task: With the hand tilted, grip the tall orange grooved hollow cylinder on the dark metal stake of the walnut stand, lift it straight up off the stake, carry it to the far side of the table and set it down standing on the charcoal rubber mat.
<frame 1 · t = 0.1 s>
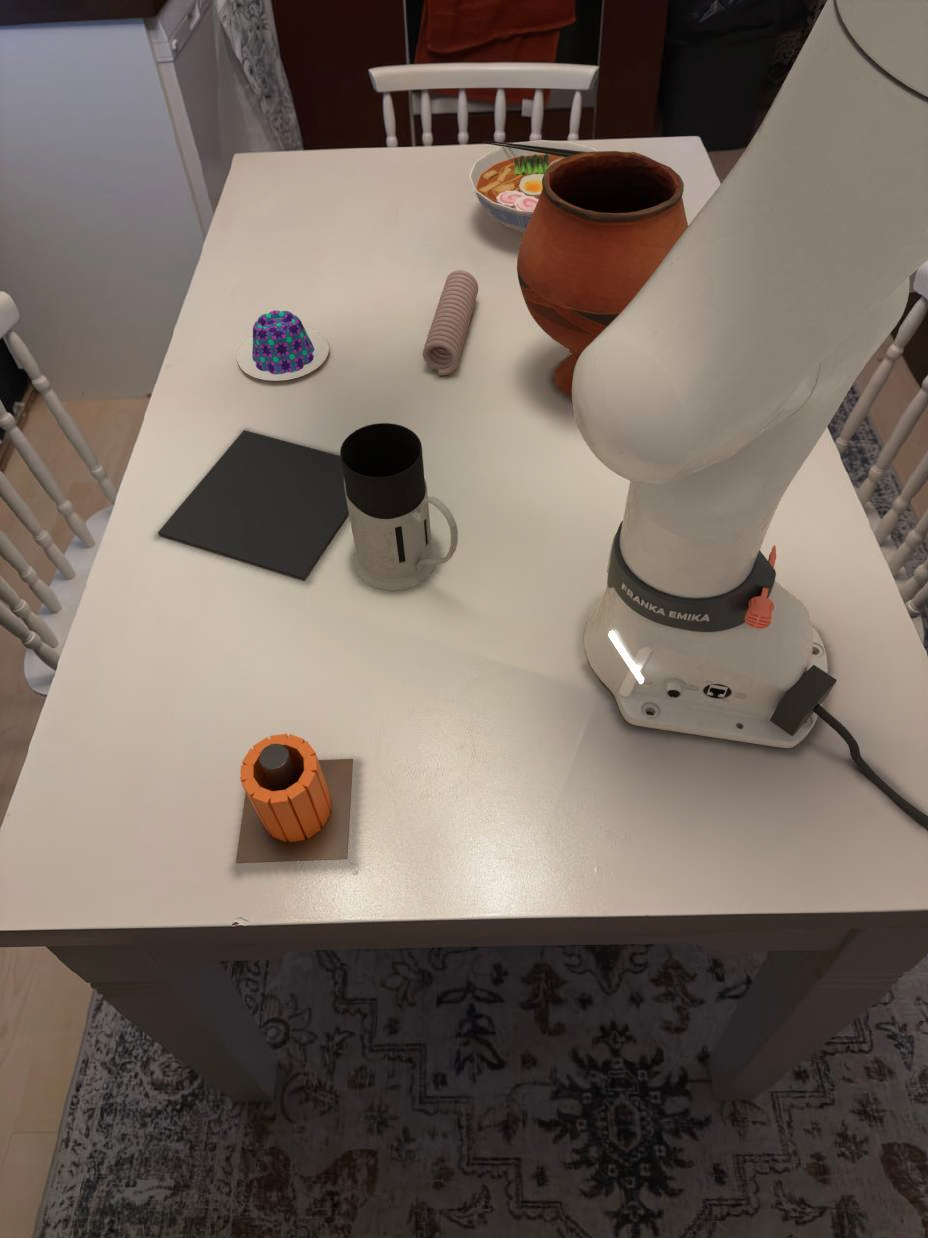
orange grooved hollow cylinder: (296, 808, 70), point 1 cm above the table, touching stake stand
glass holder: (412, 573, 87), on the table
goblet: (589, 382, 105), on the table
pudding: (284, 358, 110), on the table
stake stand: (299, 814, 71), on the table
mat: (272, 501, 93), on the table
coil: (452, 336, 112), on the table
ramen bowl: (543, 224, 129), on the table
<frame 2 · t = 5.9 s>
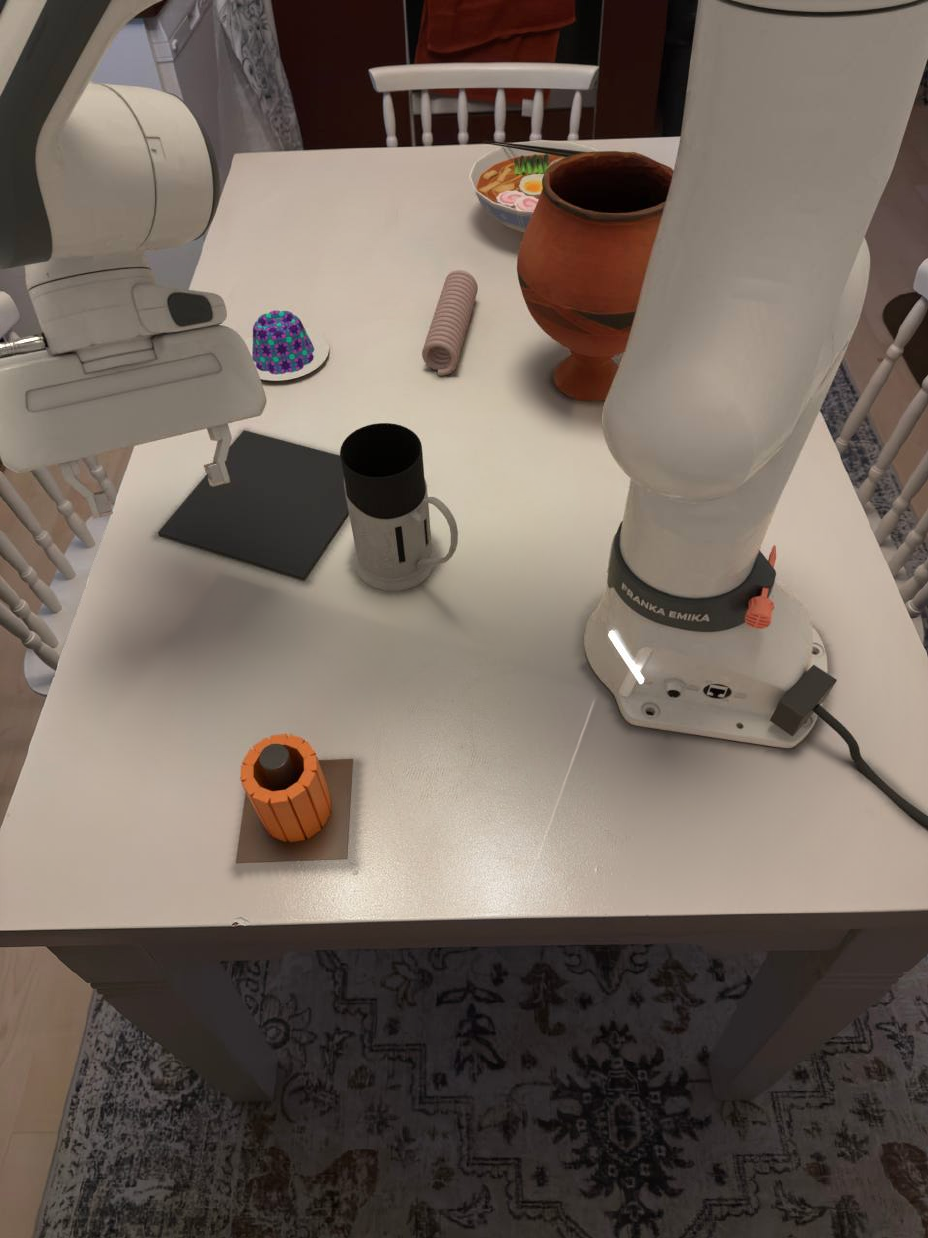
hand: (163, 499, 67), 19 cm above the table, tool tilted 35°, fingers open, 8 cm apart
nothing on the table moved.
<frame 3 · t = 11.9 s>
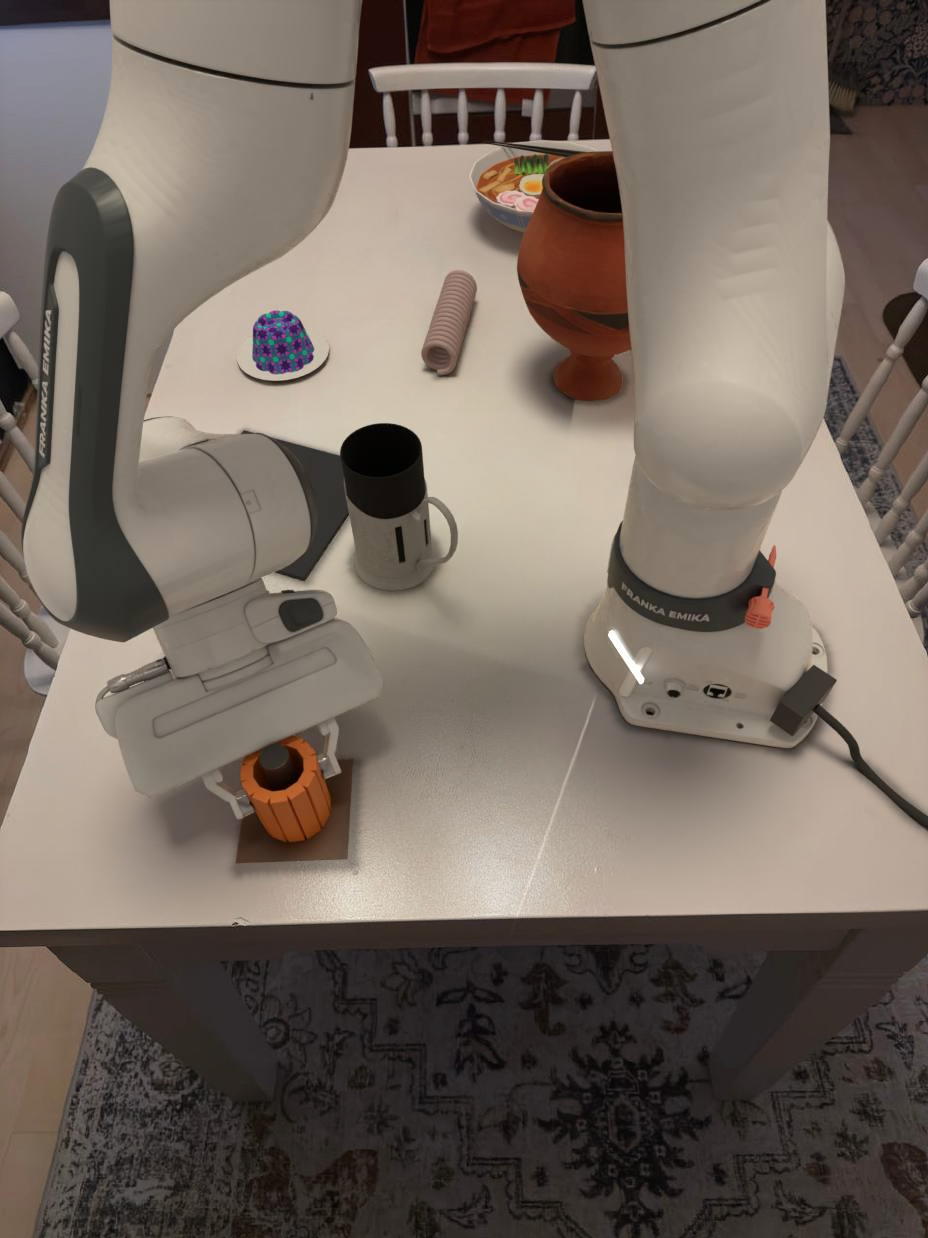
hand: (290, 794, 66), 5 cm above the table, tool tilted 45°, fingers closed on orange grooved hollow cylinder, 6 cm apart
orange grooved hollow cylinder: (296, 809, 70), point 1 cm above the table, touching gripper, stake stand
everything else where it was.
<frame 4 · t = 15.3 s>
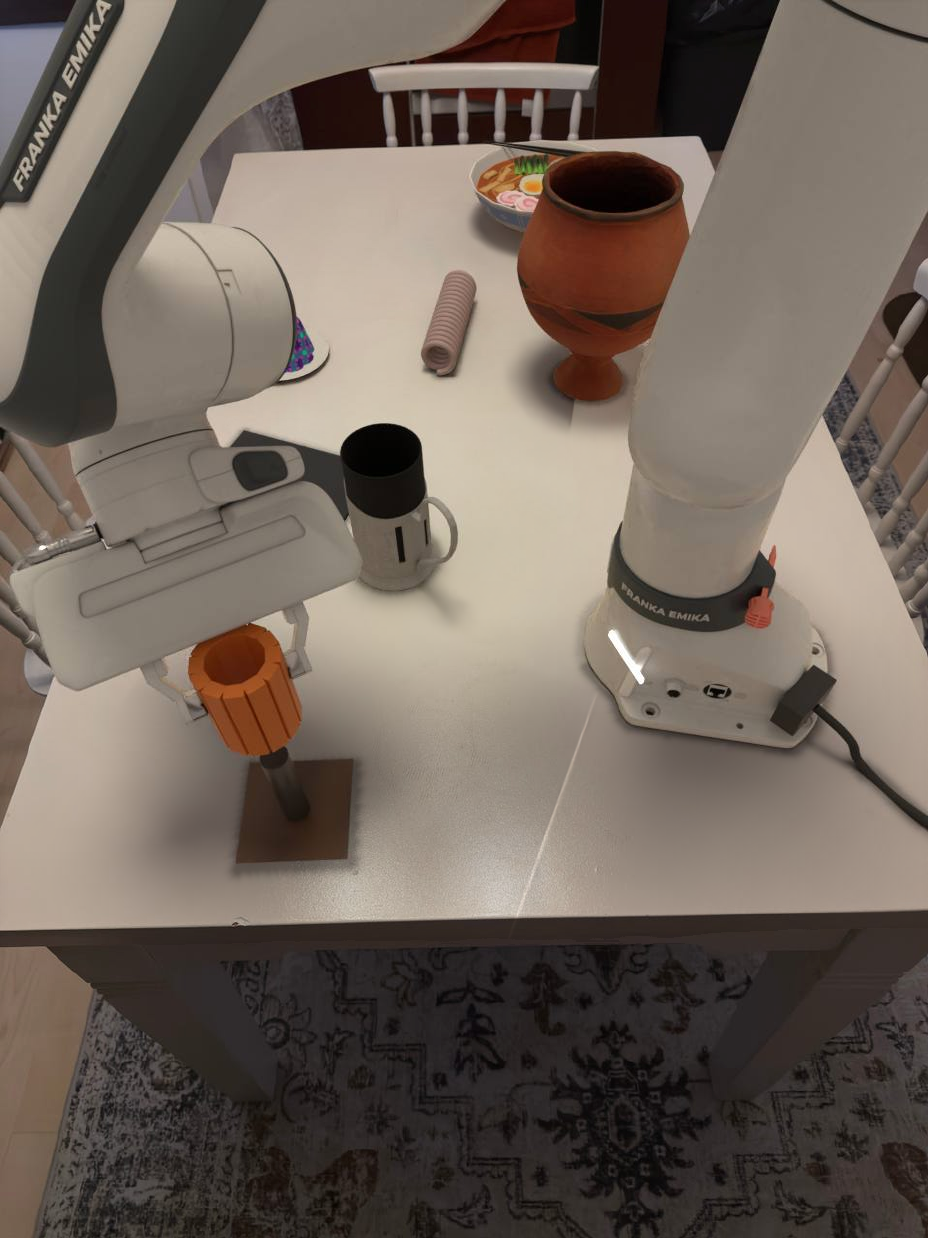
hand: (251, 696, 55), 19 cm above the table, tool tilted 45°, fingers closed on orange grooved hollow cylinder, 6 cm apart
orange grooved hollow cylinder: (260, 719, 59), point 15 cm above the table, touching gripper
everything else where it was.
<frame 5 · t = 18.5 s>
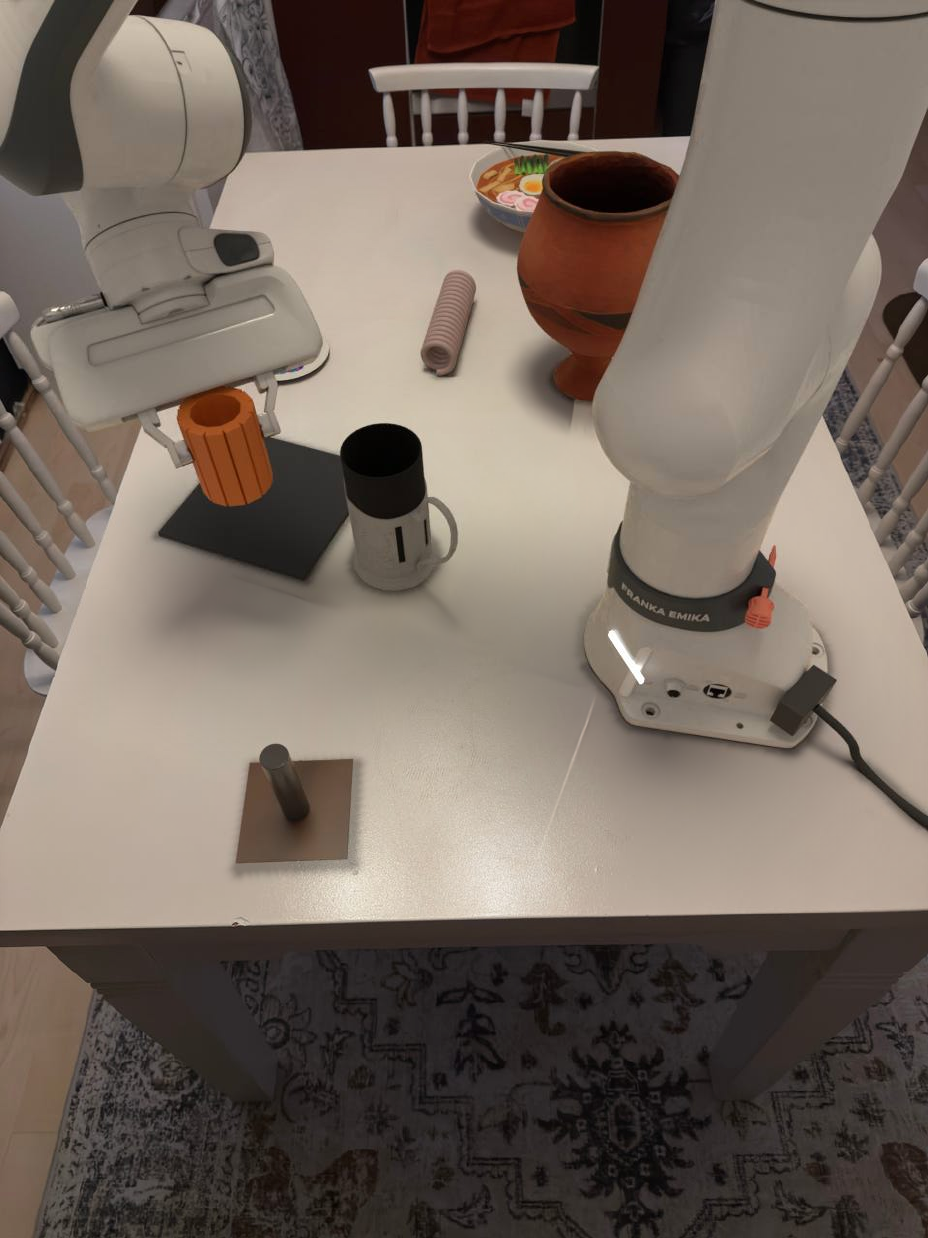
hand: (229, 450, 67), 22 cm above the table, tool tilted 45°, fingers closed on orange grooved hollow cylinder, 6 cm apart
orange grooved hollow cylinder: (238, 481, 70), point 18 cm above the table, touching gripper
everything else where it was.
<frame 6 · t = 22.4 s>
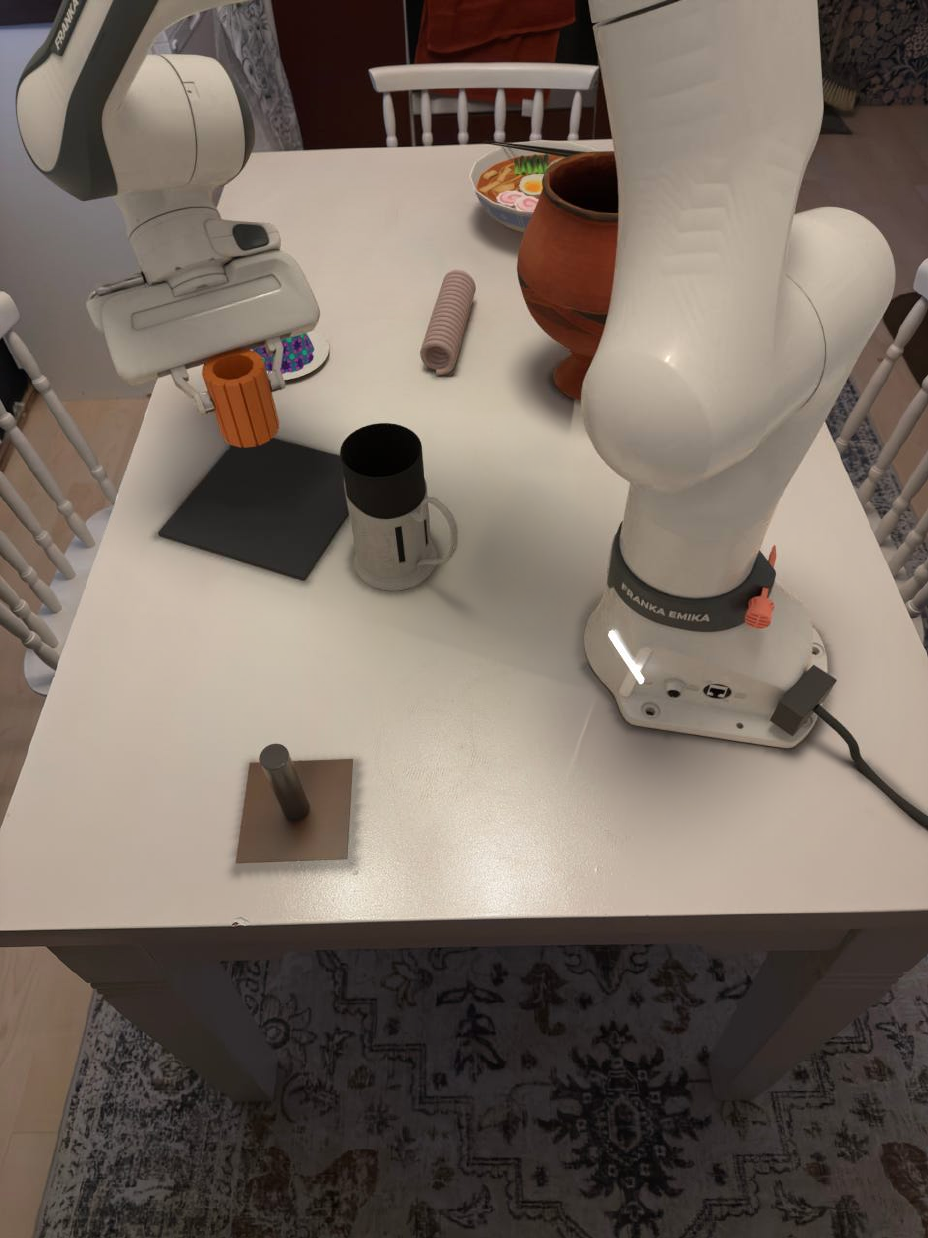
hand: (244, 400, 82), 14 cm above the table, tool tilted 45°, fingers closed on orange grooved hollow cylinder, 6 cm apart
orange grooved hollow cylinder: (250, 428, 85), point 10 cm above the table, touching gripper
everything else where it was.
when the fingers open (4 cm above the table, at t = 25.6 s): orange grooved hollow cylinder stays where it is, resting on mat.
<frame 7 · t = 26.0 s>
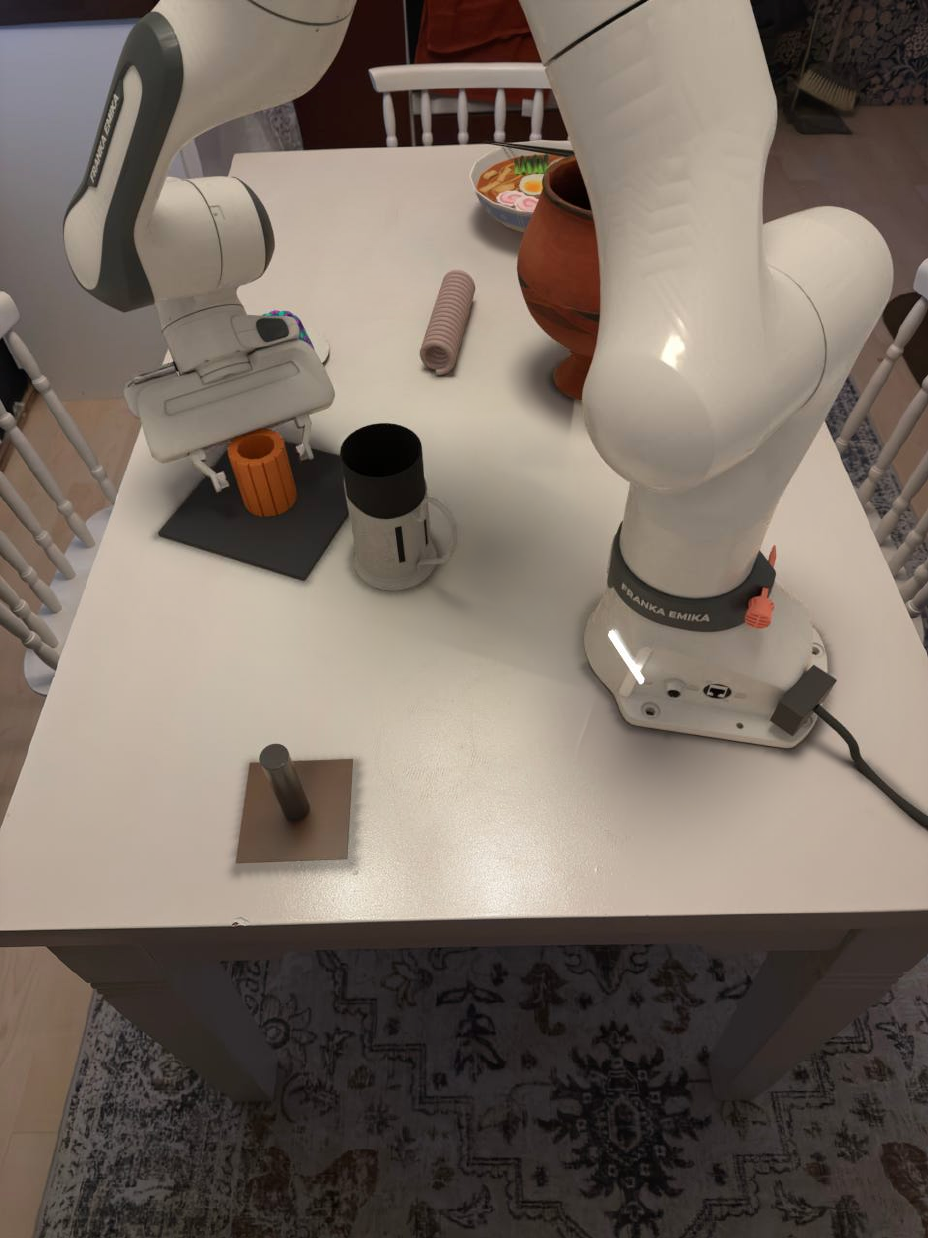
hand: (265, 475, 89), 4 cm above the table, tool tilted 45°, fingers open, 8 cm apart
orange grooved hollow cylinder: (270, 498, 93), resting on mat
everything else where it was.
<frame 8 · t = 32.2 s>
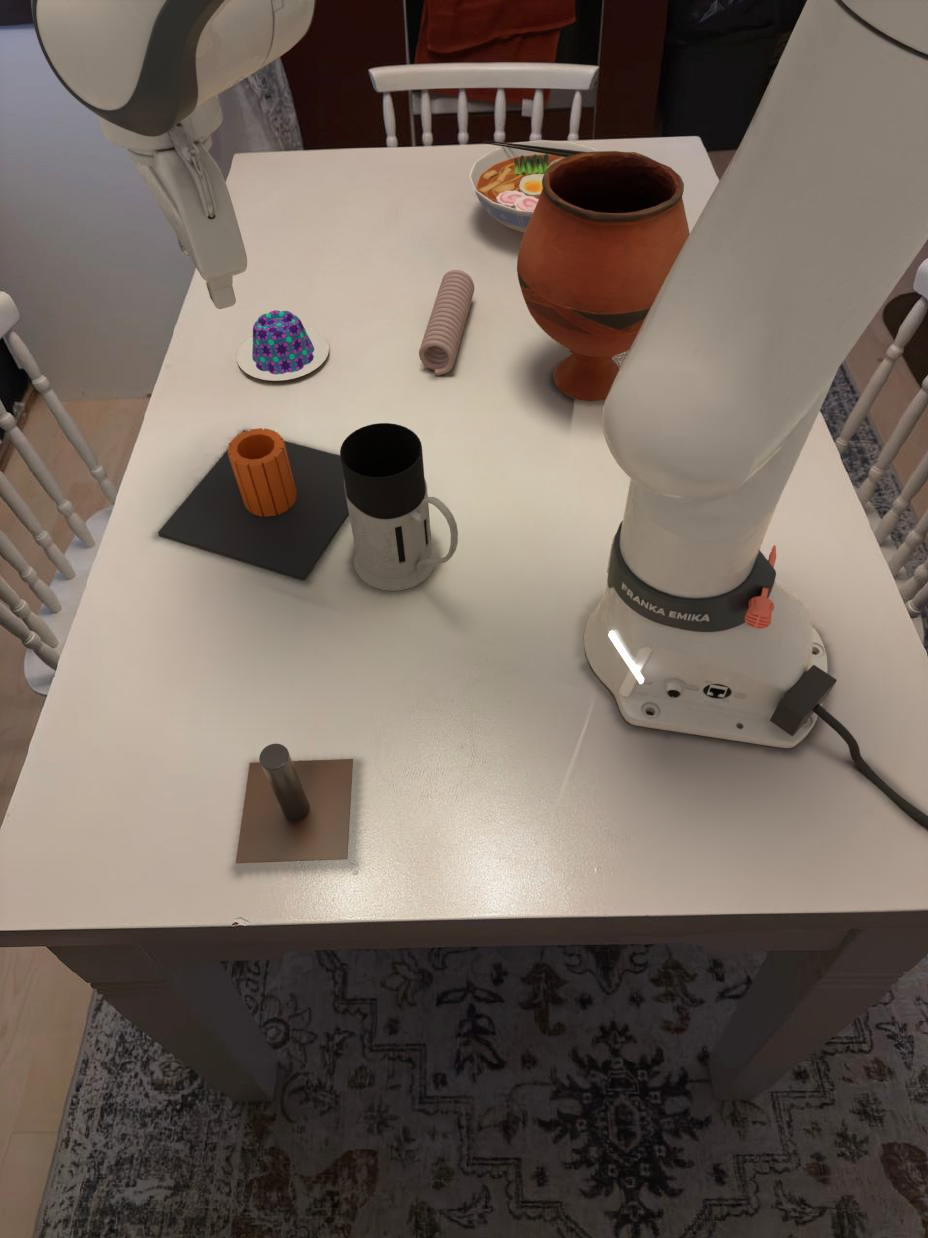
hand: (207, 276, 72), 27 cm above the table, tool pointing down, fingers open, 8 cm apart
nothing on the table moved.
at the end: orange grooved hollow cylinder inside the target area on the mat (0.1 cm from its centre), point 0.5 cm above the mat's base; orange grooved hollow cylinder tilted 0°; the gripper is holding nothing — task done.
